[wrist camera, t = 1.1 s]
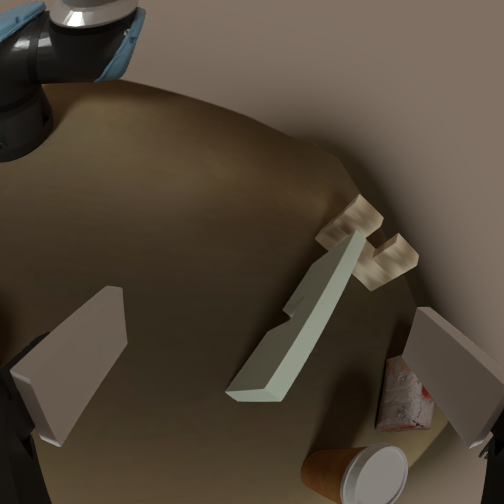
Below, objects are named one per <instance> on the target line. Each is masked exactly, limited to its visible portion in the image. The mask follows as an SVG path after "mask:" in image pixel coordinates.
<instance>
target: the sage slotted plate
mask: <svg viewBox="0 0 504 504" xmlns="http://www.w3.org/2000/svg"><path fill="white" fill-rule="evenodd" d="M366 240H367V239H366V238H365V237H364V236H362V235H361V234H360V233H359V232H358V231H357V230H355V231H354V232H352V233H351V234H350V235H349V236H348V237H346V238H345V239H344V240H343V241H341V242H340V243H339V244H337V245H336V246H335V247H334V248H332V249H331V250H330V251H329V252H327V253H326V254H325V255H323V256H322V257H321V258H320V259H318V260H317V261H316V262H314V263H313V264H312V265H311V267H310V268H309V270H308V272H307V273H306V275H305V276H304V278H303V279H302V281H301V282H300V284H299V286H298V287H297V289H296V290H295V292H294V293H293V295H292V296H291V298H290V299H289V301H288V302H287V304H286V305H285V307H284V308H283V311H284V312H285V313H287V314H288V315H289V316H290V317H291V320H289V321H287V322H285V323H283V324H281V325H279V326H277V327H276V328H274V329H272V330H270V331H268V332H267V333H266V335H265V336H264V338H263V339H262V340H261V342H260V343H259V345H258V346H257V348H256V349H255V350H254V352H253V353H252V355H251V356H250V357H249V359H248V360H247V362H246V363H245V364H244V366H243V367H242V369H241V370H240V371H239V373H238V374H237V375H236V377H235V378H234V379H233V381H232V382H231V384H230V385H229V386H228V388H227V389H226V390H225V392H226V393H227V394H228V395H230V396H231V397H232V398H234V399H235V400H236V401H252V402H271V401H282V399H283V398H284V396H285V395H286V393H287V391H288V390H289V388H290V387H291V385H292V383H293V382H294V380H295V378H296V377H297V375H298V373H299V372H300V370H301V368H302V366H303V365H304V363H305V361H306V360H307V358H308V356H309V354H310V353H311V351H312V349H313V347H314V345H315V344H316V342H317V340H318V338H319V336H320V334H321V333H322V331H323V329H324V327H325V325H326V323H327V321H328V319H329V318H330V316H331V314H332V312H333V310H334V308H335V306H336V304H337V302H338V300H339V298H340V296H341V294H342V292H343V290H344V288H345V286H346V284H347V282H348V279H349V277H350V275H351V273H352V271H353V269H354V267H355V265H356V262H357V260H358V258H359V256H360V253H361V251H362V249H363V247H364V244H365V242H366Z"/></svg>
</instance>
